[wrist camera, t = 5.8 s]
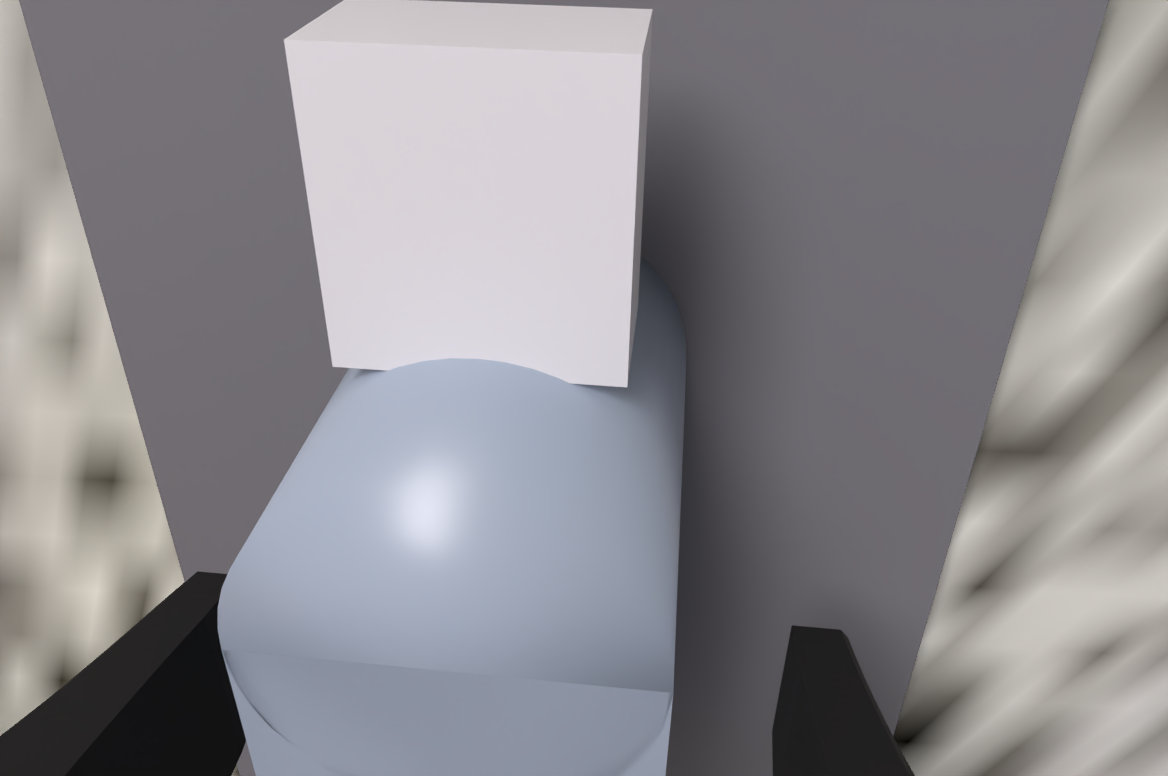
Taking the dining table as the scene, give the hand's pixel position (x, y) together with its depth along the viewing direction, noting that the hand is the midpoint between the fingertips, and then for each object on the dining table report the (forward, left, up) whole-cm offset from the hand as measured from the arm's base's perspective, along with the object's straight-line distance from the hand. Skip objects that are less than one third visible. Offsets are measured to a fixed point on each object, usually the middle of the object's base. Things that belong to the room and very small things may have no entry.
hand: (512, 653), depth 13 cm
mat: (+1, 0, -3) cm, 3 cm away
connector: (+2, 0, -2) cm, 3 cm away
